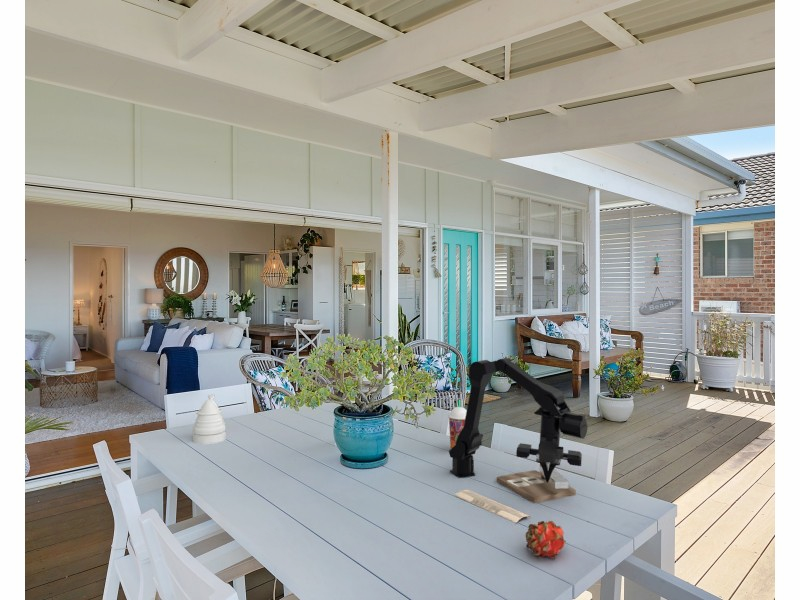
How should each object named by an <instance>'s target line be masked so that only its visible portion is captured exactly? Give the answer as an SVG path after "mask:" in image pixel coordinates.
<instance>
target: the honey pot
mask: <svg viewBox="0 0 800 600" xmlns="http://www.w3.org/2000/svg"><path fill="white" fill-rule="evenodd" d="M215 395H216V394H208V395H207V397H208V399H207V400H205V401H204V402H203V404H202V406H201V407H200V409H199V410H197V411H196V412H195V414H196V415H197V417H196V419H195V421H194V426H193V427H192V442H193V443H195V444H197V445H198V444H199V445H210V444H211V445H212V444H217V443H221V442H224V441H225V440H226V439H227V435H226V434H227V432H226V427H227V426H226V424H225V420H224V417H223V416H222V412H223V410H222V409H221V408H219V406H218V405H217V403H216V401H214V398H215Z"/></svg>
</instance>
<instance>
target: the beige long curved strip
mask: <svg viewBox="0 0 800 600" xmlns="http://www.w3.org/2000/svg"><path fill="white" fill-rule="evenodd" d="M454 496H455V497H456V498H459V499H461V500H463V501H465V502H468V503H470V504H471V505H475V506H477V507H479V508H481V509H483V510H484V511H485V510H486V511H488V512H490V513H492V514H494V515H497V516H498V517H501V518H503V519H504V520H505V519H506V520H508V521H509V522H512V523H514V524H518V522H519V521H520V520H521V519H523V518H528V519H531V518H532V517H531V516H530V515H529V514H526V513H524V512H522V511H519V510H516V509H514V508H512V507H510V506H508V505H506V504H503V503H500V502H498V501H496V500H494V499H493V500H492V499H491V498H489V497H486V496H484V495H482V494H479V493H477V492H475V491H473V490H471V489H462V490H460V491H458V492H457V493H456V494H454Z"/></svg>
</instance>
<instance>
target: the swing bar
mask: <svg viewBox="0 0 800 600" xmlns="http://www.w3.org/2000/svg"><path fill="white" fill-rule="evenodd" d="M549 465H550V463H548V470H549ZM539 472H540V473H541V474H542V475H543V476H544V477H545V475H544V472H543V469H542V466H541V465H540V464H539ZM548 482H549V483H550V484H551V485H552V486H553V487H554V488H555V489H560V488H568V486H569V481H568V480H567V479H566V477H564V475H562V474H561V473H560V472H559V470H557V469H556V467H555V468H554V470H553V471H552V474H551V476H550V479H549V481H548Z"/></svg>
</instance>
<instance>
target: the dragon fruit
mask: <svg viewBox="0 0 800 600" xmlns="http://www.w3.org/2000/svg"><path fill="white" fill-rule="evenodd" d="M564 533H565V532H564V530H563V527H561V525H557V524H556V523H555V521H553V520H549V521H548V522H547V521H544V520H540V521H538V522H537V523H530V524H528V528H527V531H526V532H525V540H526V542H527V543H526V545H525V546H526V549H528V550H531V551H532V554H533V555H534V556H538V557H539V558H541V559H542V558H543V557H545V556H546V557H548V558H550V559H553V560H554V559H557V555H559V553H560V552H561V551H562V549H563V548H564V546H565V543H566V540H565V539H564Z"/></svg>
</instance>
